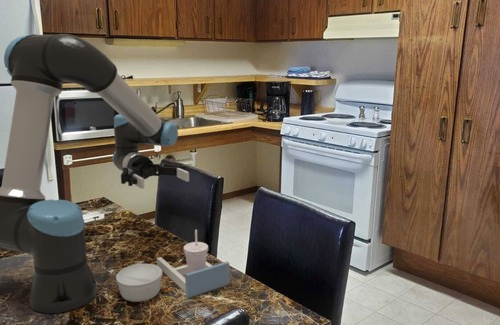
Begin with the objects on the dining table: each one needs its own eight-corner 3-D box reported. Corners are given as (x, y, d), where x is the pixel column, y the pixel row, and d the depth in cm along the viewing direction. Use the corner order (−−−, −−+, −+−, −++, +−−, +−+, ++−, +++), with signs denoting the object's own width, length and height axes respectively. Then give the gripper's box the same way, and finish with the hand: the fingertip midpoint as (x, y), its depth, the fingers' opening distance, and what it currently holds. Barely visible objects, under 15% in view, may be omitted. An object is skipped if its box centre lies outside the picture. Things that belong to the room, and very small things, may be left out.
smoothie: (211, 275, 117) (210, 226, 113) (206, 287, 110) (205, 236, 107) (187, 274, 117) (186, 225, 114) (181, 286, 111) (180, 235, 108)
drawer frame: (187, 298, 105) (187, 275, 104) (154, 267, 121) (153, 247, 120) (229, 284, 112) (229, 262, 111) (192, 256, 128) (192, 237, 127)
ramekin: (117, 308, 101) (115, 287, 100) (117, 285, 112) (115, 266, 110) (165, 301, 104) (164, 281, 103) (161, 279, 115) (160, 261, 114)
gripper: (174, 172, 146) (205, 186, 129) (99, 183, 132) (123, 200, 115) (173, 150, 144) (204, 162, 127) (97, 159, 130) (121, 173, 113)
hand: (166, 180), depth 121 cm, fingers open, 13 cm apart
